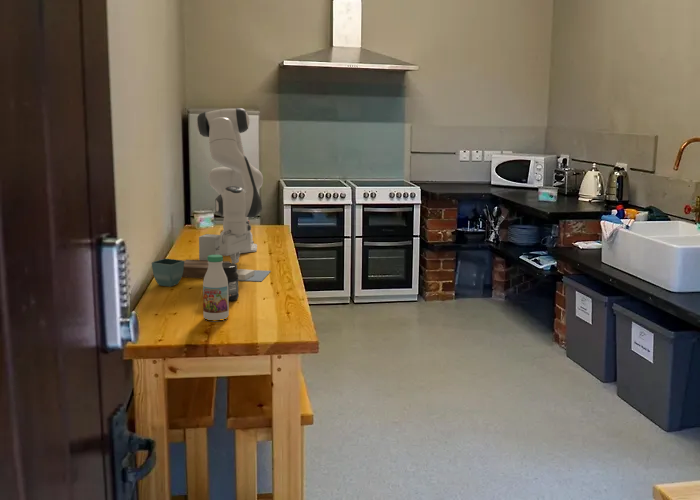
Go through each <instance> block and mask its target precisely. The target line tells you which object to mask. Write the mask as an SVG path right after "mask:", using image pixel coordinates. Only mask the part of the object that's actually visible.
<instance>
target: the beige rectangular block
mask: <svg viewBox="0 0 700 500" xmlns="http://www.w3.org/2000/svg"><path fill="white" fill-rule="evenodd" d="M254 270H255V269H246V268H240V269H238V270H237V271H236V272H237V273H238V275H239V277H238V279H239V280H246V279H248V278H250V277H252V276H254Z"/></svg>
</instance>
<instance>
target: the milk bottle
mask: <svg viewBox="0 0 700 500" xmlns="http://www.w3.org/2000/svg"><path fill="white" fill-rule="evenodd" d="M223 257H224V256H222V255H209V256H208V269H207V272H206V274H205V277H204V278H203V282H202V305H203V307H202V308H203V309H202V311H203V312H202V314H203V319H204V318H205V319H208V320H220V319H225V318H227V317H228V316H229V310H230V309H229V307H230V306H229V305H230V304H229V303H230V302H229V299H228V280H227V276H226V274H225V272H224V270H223V267H222V263H223V261H224V258H223ZM228 318H229V317H228ZM205 319H204V320H205Z"/></svg>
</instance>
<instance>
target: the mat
mask: <svg viewBox="0 0 700 500" xmlns="http://www.w3.org/2000/svg"><path fill="white" fill-rule="evenodd" d="M237 270H239V269H238V268H237ZM253 270H254V276H252V277H250V278H248V279H246V280H239V279H238V282H255V283H256V282H258V283H259V282H260V283H261V282H263V281H264V280H265V279H266V278H267V276H268V275H269V274H271V272H272V270H261V269H260V270H259V269H253Z"/></svg>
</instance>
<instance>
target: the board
mask: <svg viewBox="0 0 700 500" xmlns="http://www.w3.org/2000/svg"><path fill="white" fill-rule="evenodd" d="M183 261H184V269H183V275H182V277H181V278H189V279H190V278H192V279H194V278H195V279H204V277H205V274H206V272H207V269H208V260H199V259H186V260H185V259H184V260H183ZM223 262H227V263H231V261H229V260H227V261H226V260H223Z"/></svg>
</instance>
